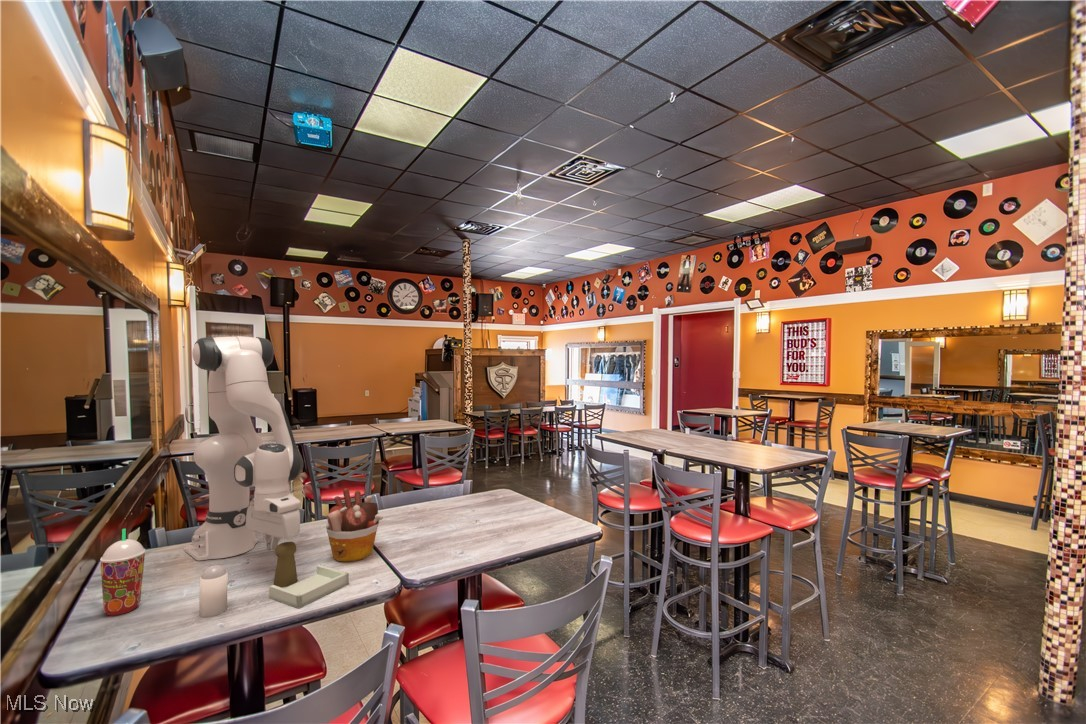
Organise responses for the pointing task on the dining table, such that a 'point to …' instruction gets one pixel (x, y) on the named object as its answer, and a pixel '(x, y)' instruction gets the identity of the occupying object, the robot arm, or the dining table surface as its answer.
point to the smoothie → (122, 575)
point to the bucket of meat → (352, 527)
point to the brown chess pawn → (285, 565)
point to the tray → (310, 587)
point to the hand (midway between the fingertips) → (271, 549)
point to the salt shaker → (213, 591)
